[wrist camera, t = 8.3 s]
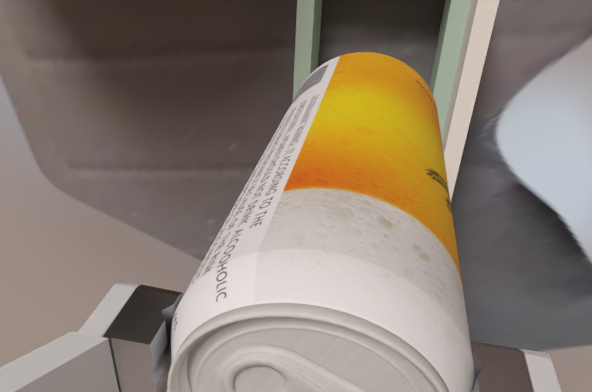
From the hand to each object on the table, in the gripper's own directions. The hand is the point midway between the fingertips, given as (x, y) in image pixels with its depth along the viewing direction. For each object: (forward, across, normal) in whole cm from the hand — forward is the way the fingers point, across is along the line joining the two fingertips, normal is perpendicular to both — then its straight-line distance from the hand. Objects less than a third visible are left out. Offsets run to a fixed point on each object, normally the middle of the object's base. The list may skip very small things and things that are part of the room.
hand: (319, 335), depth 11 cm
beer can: (+13, 0, 0) cm, 13 cm away
